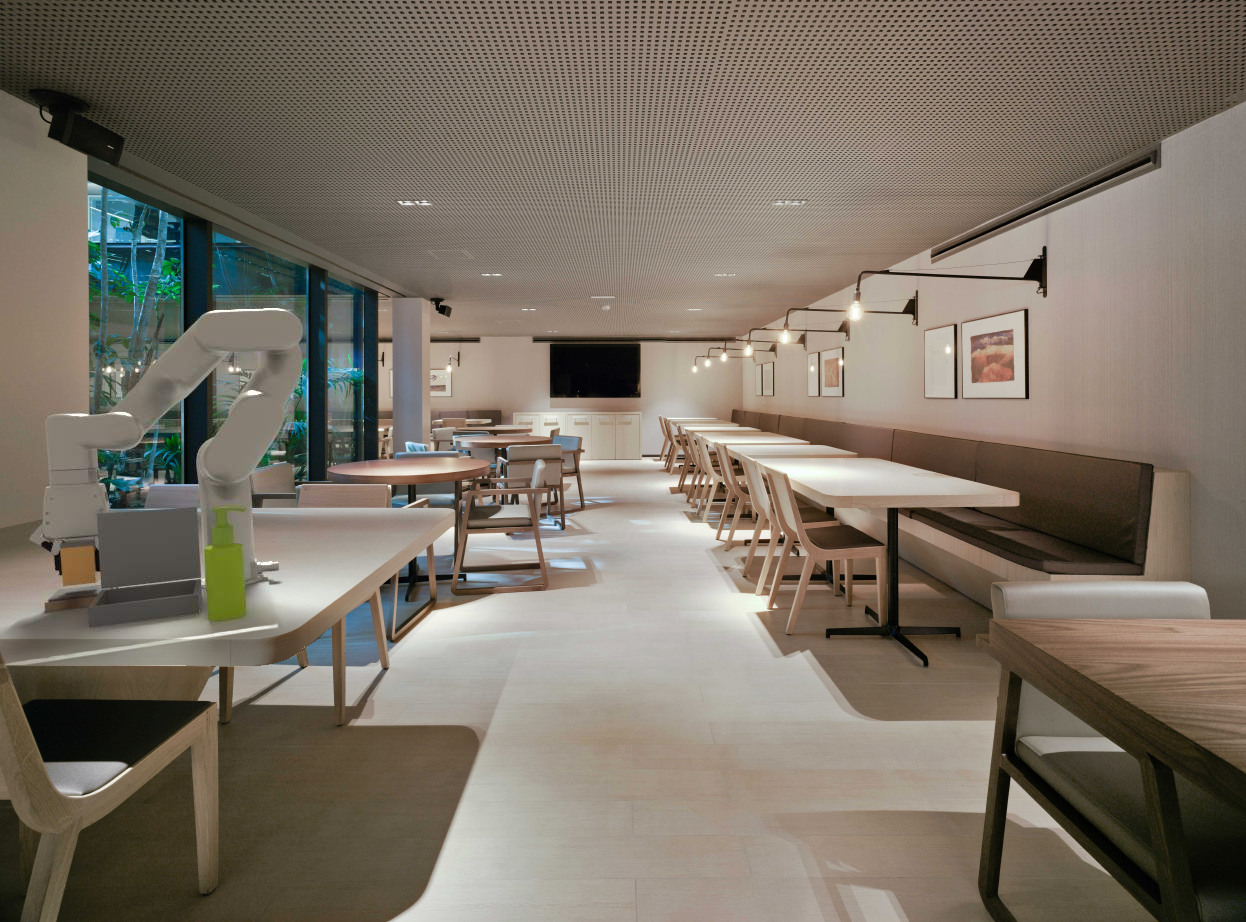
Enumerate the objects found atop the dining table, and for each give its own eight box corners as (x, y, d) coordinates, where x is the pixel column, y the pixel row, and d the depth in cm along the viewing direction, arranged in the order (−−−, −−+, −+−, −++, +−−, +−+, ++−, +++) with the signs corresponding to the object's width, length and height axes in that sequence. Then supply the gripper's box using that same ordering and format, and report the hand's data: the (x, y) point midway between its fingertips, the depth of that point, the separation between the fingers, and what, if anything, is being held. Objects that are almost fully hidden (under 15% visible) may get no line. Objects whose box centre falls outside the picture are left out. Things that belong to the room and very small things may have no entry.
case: (202, 598, 140) (201, 578, 140) (199, 616, 128) (198, 594, 128) (102, 611, 133) (101, 590, 132) (89, 631, 120) (87, 607, 120)
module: (100, 577, 141) (97, 537, 140) (95, 582, 136) (92, 541, 136) (68, 580, 138) (65, 540, 138) (63, 586, 134) (59, 544, 133)
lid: (200, 577, 140) (201, 576, 141) (196, 506, 140) (197, 506, 141) (101, 588, 132) (102, 588, 134) (96, 513, 132) (98, 513, 134)
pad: (118, 594, 144) (118, 582, 144) (111, 606, 136) (110, 593, 136) (57, 602, 140) (56, 589, 139) (45, 614, 131) (44, 600, 131)
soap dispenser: (249, 621, 124) (242, 507, 123) (204, 625, 122) (197, 510, 121) (256, 612, 130) (249, 503, 128) (213, 616, 128) (206, 506, 126)
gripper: (130, 474, 143) (136, 563, 145) (22, 479, 135) (29, 574, 136) (125, 477, 137) (132, 570, 138) (11, 482, 129) (19, 582, 130)
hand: (81, 571), depth 137 cm, fingers closed on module, 5 cm apart
